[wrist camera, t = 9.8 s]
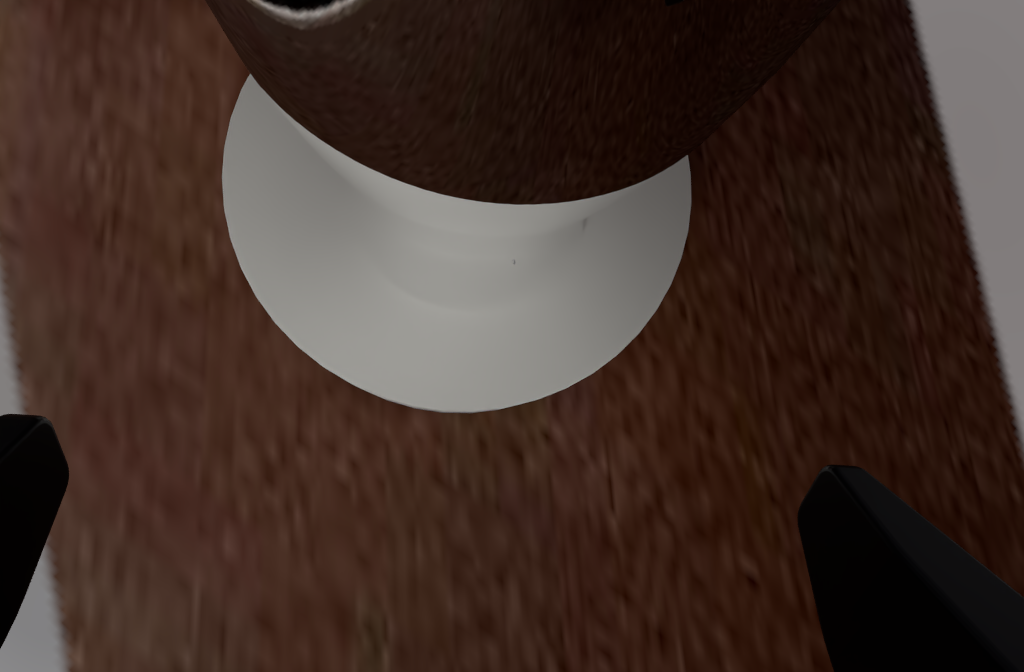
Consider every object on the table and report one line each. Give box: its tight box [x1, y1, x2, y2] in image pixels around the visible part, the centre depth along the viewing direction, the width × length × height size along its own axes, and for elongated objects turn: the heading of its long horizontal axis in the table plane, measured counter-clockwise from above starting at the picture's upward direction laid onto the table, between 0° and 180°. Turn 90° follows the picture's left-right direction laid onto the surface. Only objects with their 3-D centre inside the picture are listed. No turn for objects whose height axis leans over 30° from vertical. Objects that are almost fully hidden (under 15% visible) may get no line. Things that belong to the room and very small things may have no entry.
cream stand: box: [222, 74, 691, 413], centre depth 19 cm, size 12×12×3 cm
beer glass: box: [205, 0, 841, 312], centre depth 10 cm, size 7×7×15 cm
